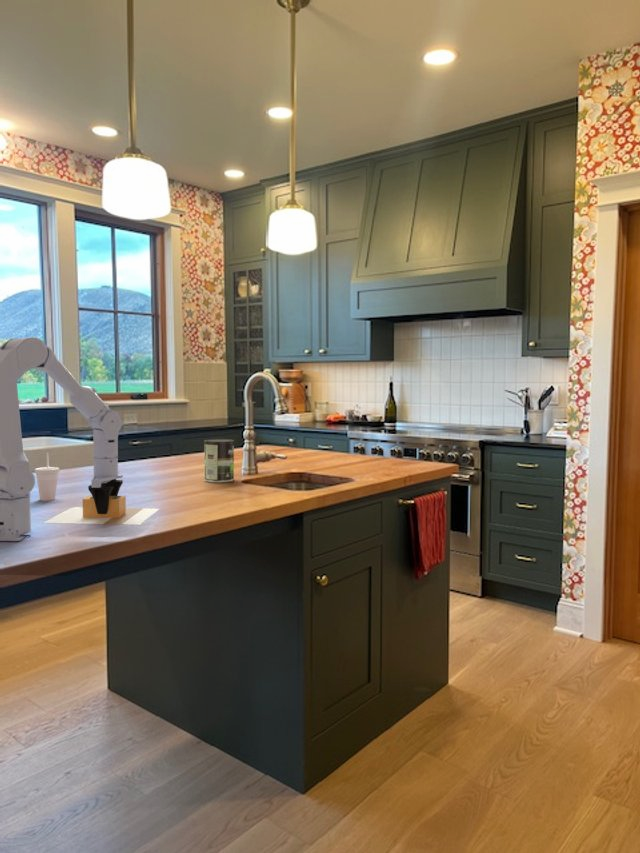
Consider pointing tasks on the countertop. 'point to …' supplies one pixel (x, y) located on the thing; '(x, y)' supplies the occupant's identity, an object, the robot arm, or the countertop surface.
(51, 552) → the countertop surface
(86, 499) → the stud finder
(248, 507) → the countertop surface
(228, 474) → the coffee can
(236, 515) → the countertop surface
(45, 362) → the robot arm
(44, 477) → the smoothie
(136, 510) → the drywall panel
